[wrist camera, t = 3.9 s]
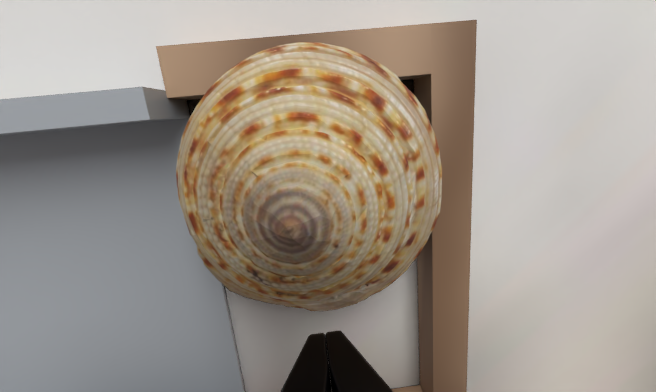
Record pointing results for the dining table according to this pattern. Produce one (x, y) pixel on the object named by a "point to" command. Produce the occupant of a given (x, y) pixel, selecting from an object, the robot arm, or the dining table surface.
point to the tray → (104, 252)
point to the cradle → (453, 141)
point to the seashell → (309, 177)
